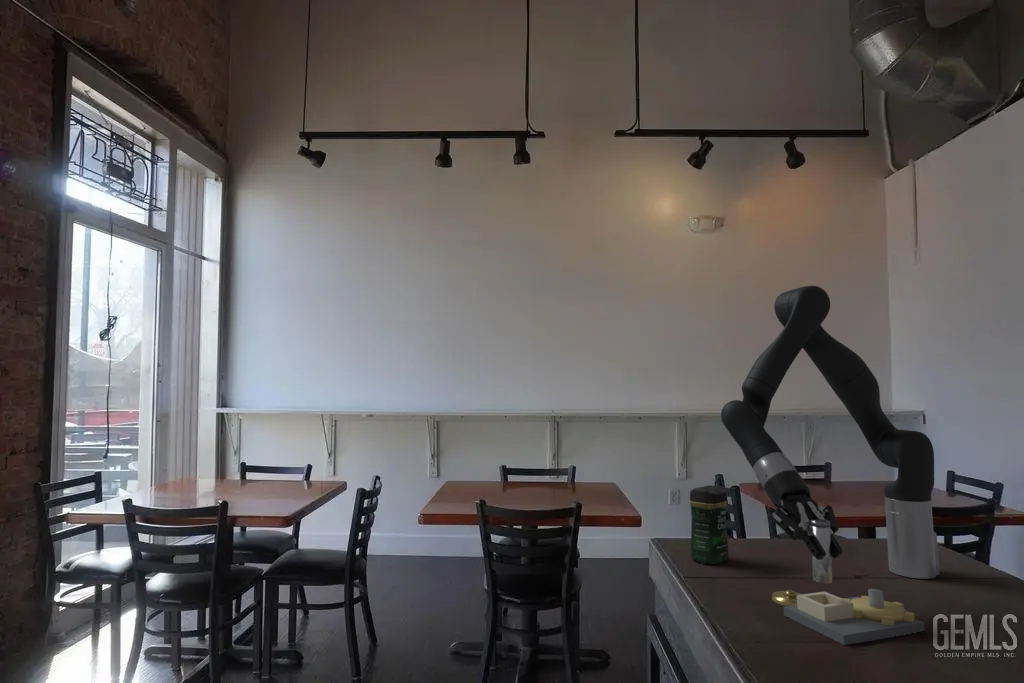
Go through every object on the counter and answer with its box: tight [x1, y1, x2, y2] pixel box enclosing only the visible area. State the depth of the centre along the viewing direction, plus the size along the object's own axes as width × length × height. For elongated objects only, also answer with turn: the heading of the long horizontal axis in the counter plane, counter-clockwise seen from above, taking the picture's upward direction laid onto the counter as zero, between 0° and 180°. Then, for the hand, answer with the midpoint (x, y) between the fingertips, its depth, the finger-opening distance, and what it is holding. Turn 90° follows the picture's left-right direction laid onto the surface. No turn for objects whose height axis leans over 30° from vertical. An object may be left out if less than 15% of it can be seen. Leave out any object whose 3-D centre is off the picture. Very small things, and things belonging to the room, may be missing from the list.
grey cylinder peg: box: [810, 519, 833, 584], centre depth 111 cm, size 3×3×11 cm
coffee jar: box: [689, 485, 730, 565], centre depth 151 cm, size 10×8×19 cm
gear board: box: [783, 588, 925, 646], centre depth 110 cm, size 20×14×6 cm
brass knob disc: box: [771, 589, 803, 607], centre depth 121 cm, size 7×7×2 cm
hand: (830, 556), depth 109 cm, fingers closed on grey cylinder peg, 3 cm apart
